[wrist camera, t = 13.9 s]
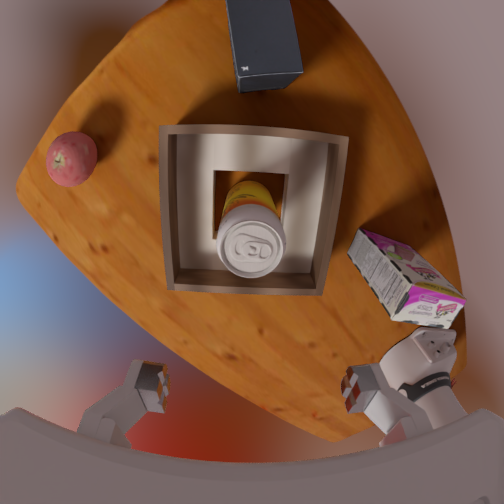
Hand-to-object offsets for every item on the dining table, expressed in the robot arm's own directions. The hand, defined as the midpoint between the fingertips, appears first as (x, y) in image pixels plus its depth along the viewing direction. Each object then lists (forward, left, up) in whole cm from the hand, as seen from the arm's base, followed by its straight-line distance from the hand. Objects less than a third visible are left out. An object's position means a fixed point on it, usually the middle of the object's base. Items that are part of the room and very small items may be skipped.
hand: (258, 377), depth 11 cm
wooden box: (0, 0, -28) cm, 28 cm away
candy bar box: (-21, +6, -28) cm, 36 cm away
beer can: (0, 0, -28) cm, 28 cm away
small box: (0, -20, -28) cm, 34 cm away
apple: (+24, -7, -28) cm, 38 cm away
